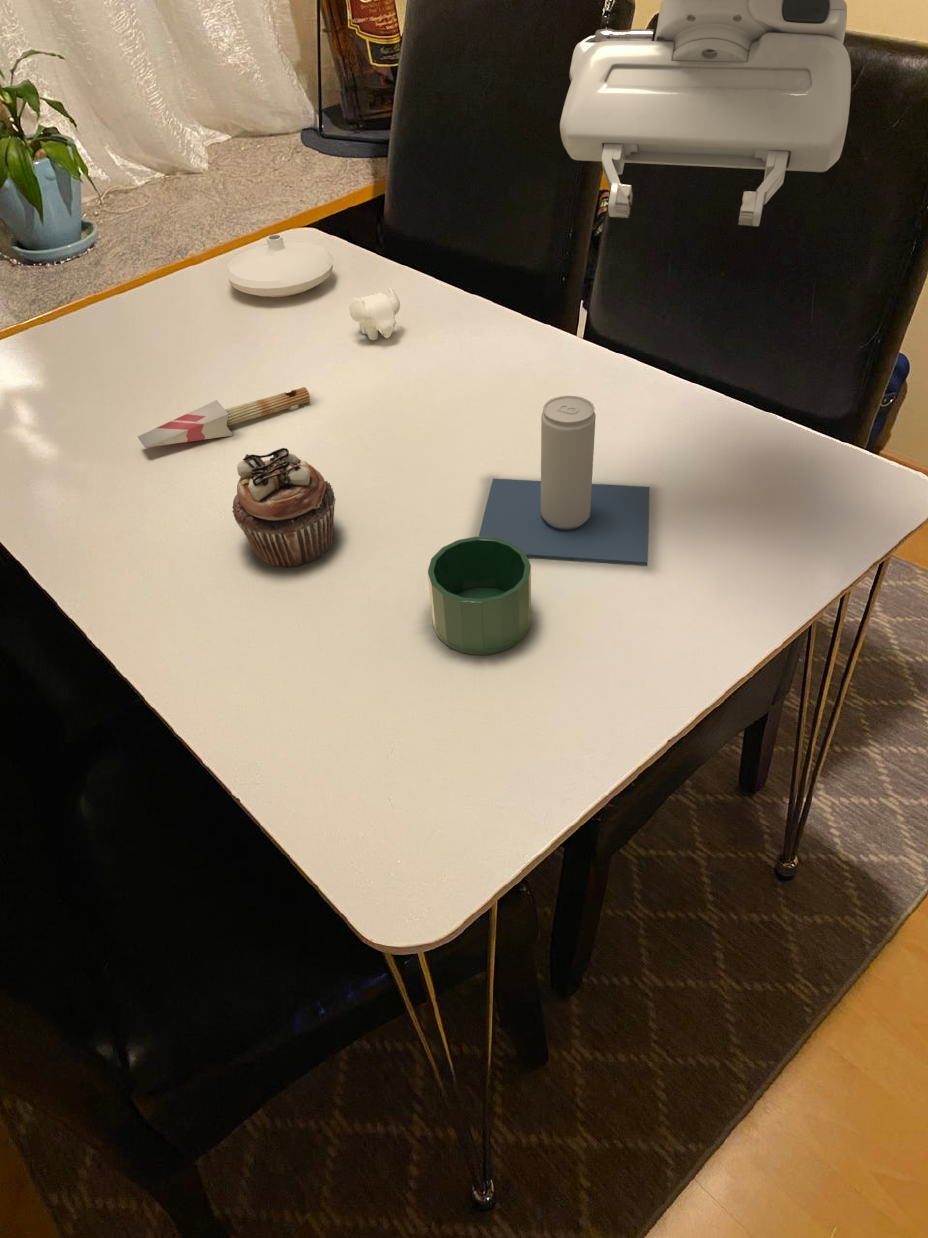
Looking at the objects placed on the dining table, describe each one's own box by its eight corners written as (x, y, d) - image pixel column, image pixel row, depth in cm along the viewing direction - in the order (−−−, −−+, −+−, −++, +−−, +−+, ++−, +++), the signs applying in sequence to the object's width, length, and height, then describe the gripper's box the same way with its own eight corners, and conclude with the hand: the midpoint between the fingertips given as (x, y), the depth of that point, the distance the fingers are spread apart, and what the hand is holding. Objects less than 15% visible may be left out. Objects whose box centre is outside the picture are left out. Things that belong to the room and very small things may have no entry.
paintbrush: (132, 422, 100) (299, 377, 107) (138, 444, 101) (302, 398, 109) (142, 437, 97) (312, 390, 105) (148, 459, 99) (315, 411, 106)
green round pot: (535, 592, 80) (535, 539, 76) (524, 659, 74) (523, 606, 70) (443, 585, 82) (438, 533, 78) (425, 650, 76) (419, 598, 72)
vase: (288, 317, 125) (278, 266, 120) (207, 295, 131) (195, 247, 127) (358, 275, 134) (351, 227, 129) (279, 257, 141) (270, 210, 136)
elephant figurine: (368, 354, 116) (362, 309, 111) (342, 331, 121) (335, 287, 117) (414, 339, 118) (410, 295, 114) (387, 317, 123) (382, 274, 119)
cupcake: (360, 546, 87) (346, 458, 80) (270, 587, 83) (247, 498, 76) (313, 500, 92) (296, 415, 86) (227, 537, 89) (202, 451, 82)
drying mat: (649, 489, 91) (649, 486, 91) (646, 565, 82) (647, 562, 82) (493, 481, 93) (492, 478, 93) (475, 554, 85) (475, 550, 85)
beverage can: (576, 538, 85) (581, 427, 77) (531, 523, 87) (531, 414, 79) (598, 511, 88) (605, 402, 80) (554, 497, 90) (557, 389, 82)
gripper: (571, 0, 65) (536, 187, 65) (872, 0, 60) (834, 204, 60) (582, 56, 71) (550, 228, 71) (856, 61, 66) (821, 247, 66)
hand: (682, 217), depth 65 cm, fingers open, 8 cm apart
